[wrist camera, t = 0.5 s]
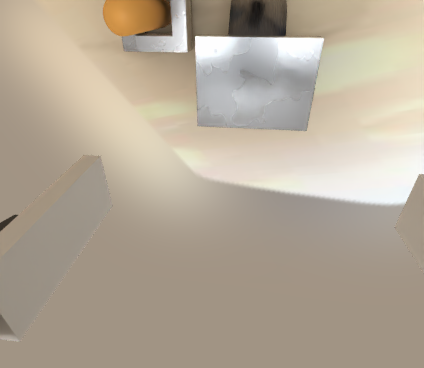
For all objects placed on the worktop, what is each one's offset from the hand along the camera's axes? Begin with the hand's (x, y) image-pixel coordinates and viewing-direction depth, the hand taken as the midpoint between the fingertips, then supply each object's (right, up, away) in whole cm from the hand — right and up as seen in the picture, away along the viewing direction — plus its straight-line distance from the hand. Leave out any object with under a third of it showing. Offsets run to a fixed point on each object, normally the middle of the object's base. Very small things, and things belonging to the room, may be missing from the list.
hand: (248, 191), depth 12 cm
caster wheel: (+3, +15, +20) cm, 25 cm away
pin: (-7, +19, +19) cm, 28 cm away
